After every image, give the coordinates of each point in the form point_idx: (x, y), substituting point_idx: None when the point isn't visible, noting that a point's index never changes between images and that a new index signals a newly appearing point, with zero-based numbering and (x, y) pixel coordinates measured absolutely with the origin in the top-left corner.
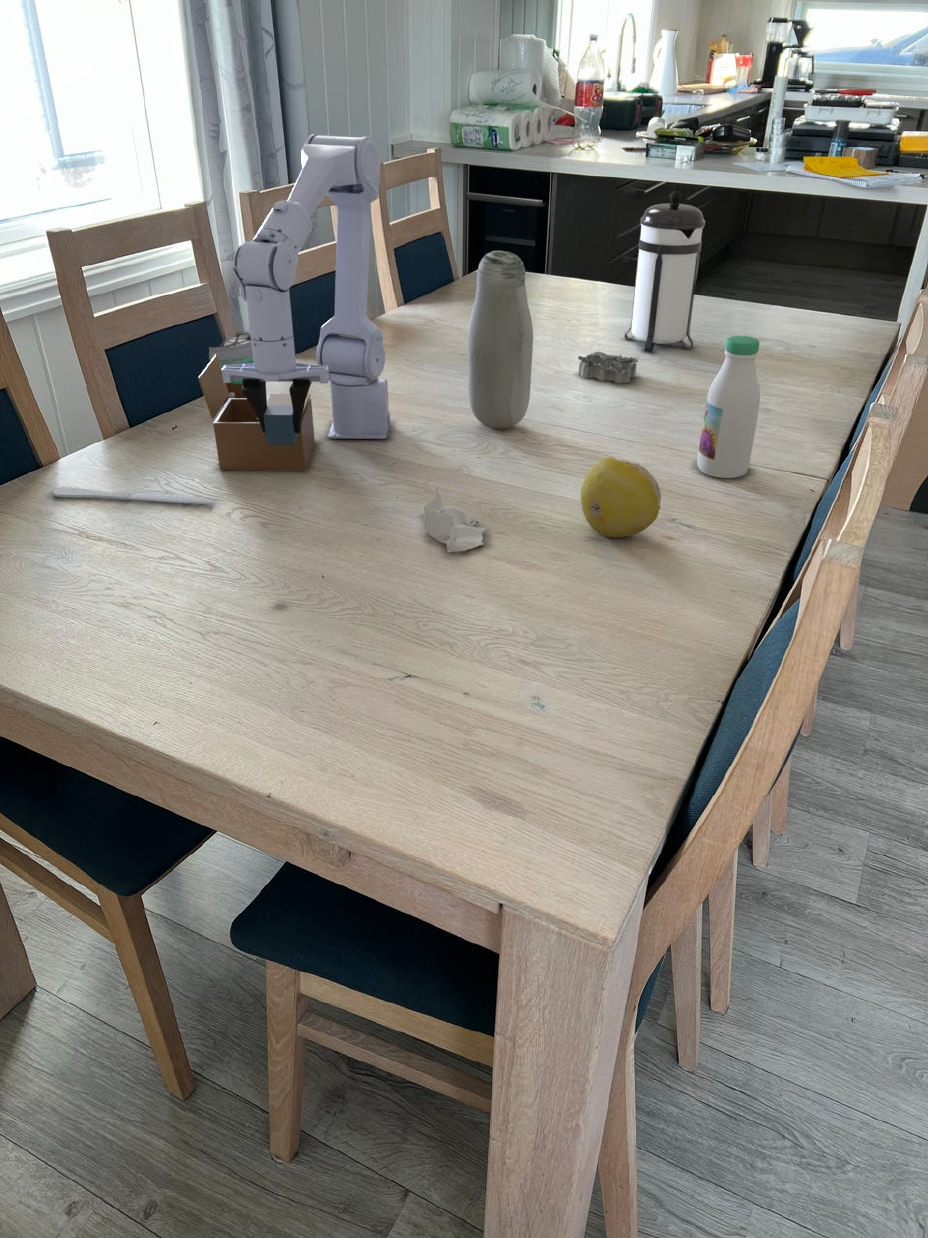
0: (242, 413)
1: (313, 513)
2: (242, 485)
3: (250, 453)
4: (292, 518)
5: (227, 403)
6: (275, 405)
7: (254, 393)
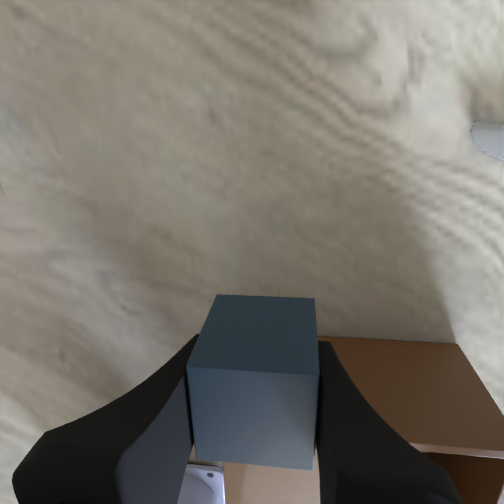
0: None
1: (173, 84)
2: (391, 257)
3: (381, 367)
4: (223, 46)
5: None
6: (282, 463)
7: (368, 465)
